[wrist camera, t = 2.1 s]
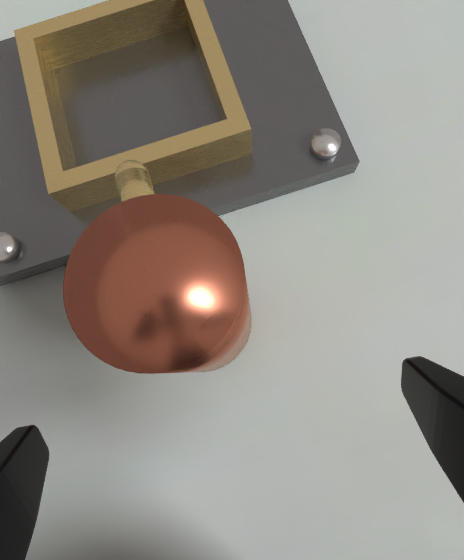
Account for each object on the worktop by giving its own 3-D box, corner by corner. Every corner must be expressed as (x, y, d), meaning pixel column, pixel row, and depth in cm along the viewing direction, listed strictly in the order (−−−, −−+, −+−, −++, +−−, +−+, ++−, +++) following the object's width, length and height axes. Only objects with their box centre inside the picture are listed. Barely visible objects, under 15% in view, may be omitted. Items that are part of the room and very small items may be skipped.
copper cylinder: (264, 353, 20) (270, 338, 11) (167, 385, 20) (83, 398, 11) (223, 228, 22) (196, 118, 12) (134, 257, 22) (36, 169, 12)
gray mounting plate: (354, 172, 22) (371, 136, 19) (-2, 286, 22) (-48, 271, 19) (267, -26, 26) (268, -85, 23) (-37, 71, 26) (-81, 26, 23)
